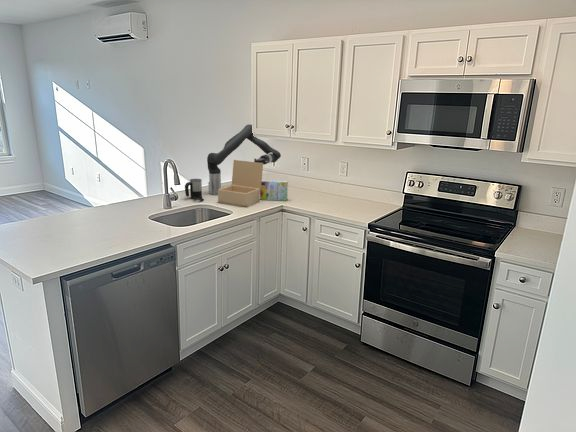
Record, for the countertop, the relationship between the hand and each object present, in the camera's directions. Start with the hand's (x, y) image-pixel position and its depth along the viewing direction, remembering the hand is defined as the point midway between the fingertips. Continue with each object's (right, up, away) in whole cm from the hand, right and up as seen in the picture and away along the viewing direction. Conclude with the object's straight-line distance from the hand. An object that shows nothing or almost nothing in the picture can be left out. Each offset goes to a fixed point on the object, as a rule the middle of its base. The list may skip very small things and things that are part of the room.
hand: (255, 162), depth 310 cm
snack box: (+15, -30, -3) cm, 34 cm away
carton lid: (-6, -11, -9) cm, 15 cm away
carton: (-11, -32, -13) cm, 37 cm away
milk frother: (-44, -30, -8) cm, 54 cm away
